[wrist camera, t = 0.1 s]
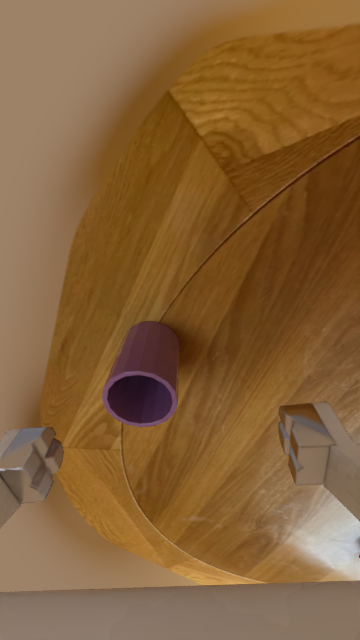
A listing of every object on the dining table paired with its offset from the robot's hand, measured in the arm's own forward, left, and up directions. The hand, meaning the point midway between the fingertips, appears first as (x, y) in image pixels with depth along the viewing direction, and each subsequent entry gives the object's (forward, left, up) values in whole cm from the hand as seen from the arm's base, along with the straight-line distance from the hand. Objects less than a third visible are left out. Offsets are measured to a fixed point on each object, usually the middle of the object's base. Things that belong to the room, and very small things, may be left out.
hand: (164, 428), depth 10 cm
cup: (+9, -5, -20) cm, 23 cm away
